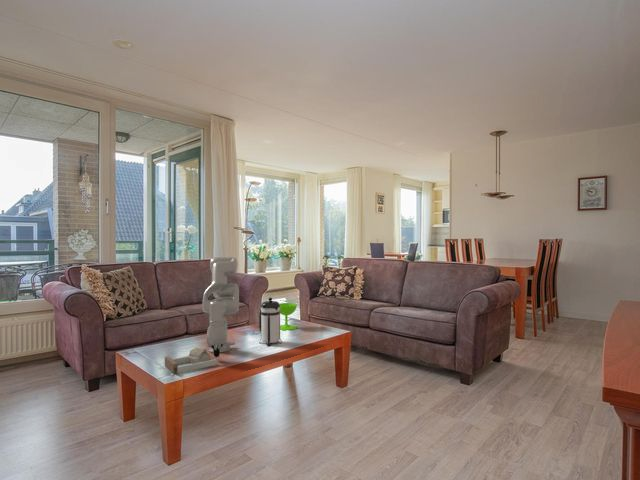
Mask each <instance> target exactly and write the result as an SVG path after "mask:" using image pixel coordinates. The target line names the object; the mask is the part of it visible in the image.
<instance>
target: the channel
mask: <svg viewBox="0 0 640 480" xmlns="http://www.w3.org/2000/svg"><path fill="white" fill-rule="evenodd" d="M188 356H189V355H188ZM188 356H180V357H176V358H171V356H169V355H167V356H164V367H165V368H166V369H167V370H168V371H169V372H170V373H171V374H172V375H175V374H176V375H177V374H181V373H185V372H190V371H194V370H195V371H196V370H200V369H203V368H209V367H213V366H218V359H217V358H215V359H210V360H209V361H204V362H199V363H194V364H192V363H191V362H190V361H189V360H188ZM189 362H190V363H191V364H190V363H189ZM185 363H189V364H185ZM179 364H185V365H181V366H178V365H179Z"/></svg>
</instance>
